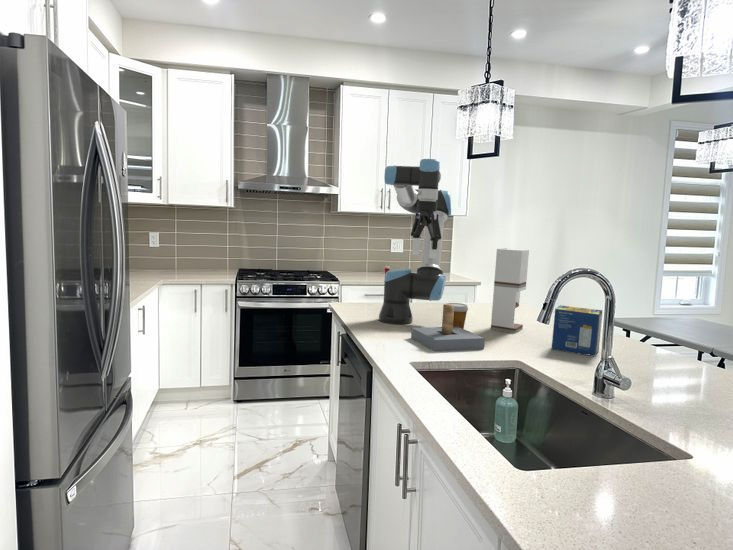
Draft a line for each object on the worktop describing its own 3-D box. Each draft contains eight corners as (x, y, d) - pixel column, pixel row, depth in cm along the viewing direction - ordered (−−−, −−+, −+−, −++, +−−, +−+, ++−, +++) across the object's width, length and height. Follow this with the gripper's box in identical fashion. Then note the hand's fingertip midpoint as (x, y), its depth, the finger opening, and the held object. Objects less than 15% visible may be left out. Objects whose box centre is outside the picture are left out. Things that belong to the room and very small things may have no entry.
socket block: (411, 337, 200) (411, 327, 199) (456, 336, 206) (457, 326, 206) (434, 351, 181) (435, 340, 180) (484, 348, 188) (484, 338, 187)
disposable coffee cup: (465, 331, 216) (467, 303, 215) (467, 336, 207) (469, 307, 205) (442, 330, 217) (444, 302, 216) (443, 335, 207) (445, 305, 206)
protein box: (556, 344, 201) (559, 304, 200) (599, 350, 194) (603, 310, 192) (550, 349, 192) (554, 308, 191) (595, 356, 185) (599, 313, 183)
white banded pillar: (515, 333, 217) (522, 250, 214) (490, 329, 223) (496, 248, 219) (522, 329, 227) (529, 249, 223) (498, 325, 233) (504, 248, 229)
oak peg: (439, 340, 195) (441, 304, 193) (448, 340, 196) (450, 304, 195) (444, 343, 191) (446, 306, 190) (453, 343, 192) (456, 305, 191)
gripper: (404, 200, 206) (401, 253, 209) (434, 200, 183) (431, 259, 186) (421, 201, 209) (418, 253, 211) (453, 201, 186) (449, 259, 189)
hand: (424, 256), depth 199 cm, fingers open, 13 cm apart
